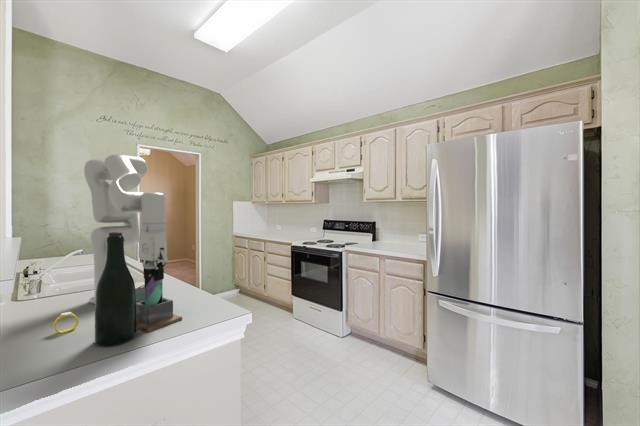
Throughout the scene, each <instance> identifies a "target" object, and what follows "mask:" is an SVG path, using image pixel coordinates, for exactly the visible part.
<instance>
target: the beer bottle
mask: <svg viewBox="0 0 640 426" xmlns="http://www.w3.org/2000/svg"><path fill="white" fill-rule="evenodd" d="M106 242H107V256H106V263H105V266H104V269H103V272H102V274H101V276H100V279H99V281H98V283H97V287H96V293H95V304H94V343H95V344H96V345H97V346H100V347H113V346H117V345H121V344H124V343H127V342H129V341H131V340H132V339H133V338H135V337H136V335H137V333H138V331H137V330H138V328H137V320H136V293H135V288H136V285H135V280H134V278H133V276H132V273H131V271H130V269H129V267H128V265H127V261H126V258H125V257H126V255H125V247H124V236H122V232H110V233H109V237H107V239H106Z"/></svg>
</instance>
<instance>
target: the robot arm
mask: <svg viewBox="0 0 640 426" xmlns="http://www.w3.org/2000/svg"><path fill="white" fill-rule="evenodd" d="M83 170H84V172H83V173H84V178H85V182H86V183H87V185H88V187H89V190H90V193H91V194H90V195H91V204H92V213H93V214H92V215H93V219H94V221H95V222H96V223H97V224H123V225H111V226H110V225H108V226H99V227H97V228H94V229H93V230H92V232H91V233H90V241H91V246H92V251H93V279H94V281H93V286H94V295H93V297H91V298H90V299H89V303H90V304H93V305H95V293H96V287H97V283H98V281H99V279H100V276H101V274H102V272H103V269H104V266H105V263H106V256H107V242H106V239H107V237H109V233H110V232H122V236H124V248H127V247H133V246H136V245H138V258H139V259H140V260H141V262H142V267H143V278H144V279H145V269H144V267H145V264H147V263H148V262H149V261H152V262H153V261H154V265H155V269H154V281H158V280H162V281H164V279H165V276H164V275H165V272H164V271H165V268H166V264H167V262H168V261H169V259H168V243H167V235H166V230H167V229H166V228H167V227H166V223H167V222H166V221H167V219H166V218H167V217H166V213H167V211H166V200H167V199H166V195H165V194H164V193H162V192H150V191H149V192H147V191H145V192H143V191H131V190H134V189H136V188H137V187H138V186H139V185H140V183H141V181H142V178H143V177H145V176H146V174H147V172H148V164H147V162H146V160H144V159H143V158H142V157H140V156H135V155H127V154H120V153H113V154H110V155H107V156H106V157H105V159H101V158H100V159H99V158H97V159H95V158H94V159H89V160H87V161H86V162H85V164H84V168H83ZM108 181H111V183H109V182H108ZM139 213H140V225H139V217H138V216H139V215H138V214H139ZM157 262H159V264H158V263H157Z"/></svg>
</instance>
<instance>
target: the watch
mask: <svg viewBox="0 0 640 426" xmlns="http://www.w3.org/2000/svg"><path fill="white" fill-rule="evenodd" d="M70 316H72V317H74V318H75V324H74V325H73V326H71V328H68V329H64V330H59V329H57V328H56V324H57V323H58V321H59V320H60V319H62V318H65V317H70ZM78 324H79V318H78V316H77V315H76V314H74V313H73V312H71V311H66V312H62V313H61V314H60V315H59V316H57V318H56V319H55V320H54V322H53V323H52V326H53V330H55V332H57V333H59V334H63V333H67V332H71V331H73V330H75V329H76V328H77V326H78Z"/></svg>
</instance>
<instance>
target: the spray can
mask: <svg viewBox="0 0 640 426" xmlns="http://www.w3.org/2000/svg"><path fill="white" fill-rule="evenodd" d="M157 263H158V264H159V262H157ZM144 269H145V278H144V285H145V305H147V306H153V305H156V304H160V303H163V298H164V297H163V291H164V290H163V289H164V288H163V286H164V285H163V281H164V280H158V281H154V269H155V265H154V261H153V262H152V261H149V262H148V263H147V264H145V267H143V270H144Z"/></svg>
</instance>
